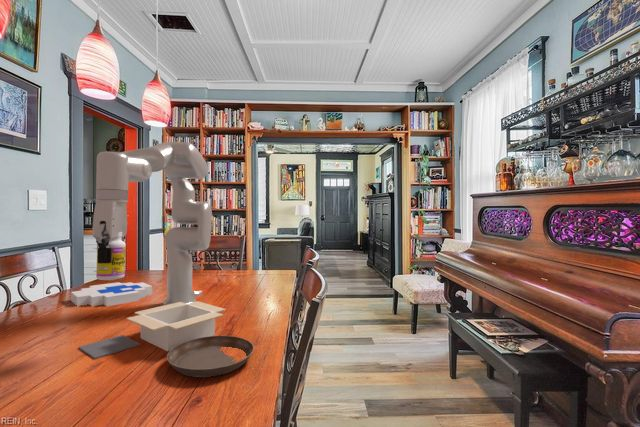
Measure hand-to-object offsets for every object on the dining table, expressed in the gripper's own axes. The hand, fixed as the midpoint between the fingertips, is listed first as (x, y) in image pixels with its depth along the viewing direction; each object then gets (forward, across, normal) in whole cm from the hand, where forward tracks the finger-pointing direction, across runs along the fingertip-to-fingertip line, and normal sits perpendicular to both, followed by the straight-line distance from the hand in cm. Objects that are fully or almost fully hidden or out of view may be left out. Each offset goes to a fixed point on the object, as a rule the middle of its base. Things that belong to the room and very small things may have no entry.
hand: (111, 260), depth 89 cm
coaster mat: (+24, 0, 0) cm, 24 cm away
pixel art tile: (+24, -57, -24) cm, 66 cm away
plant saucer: (+24, +13, +29) cm, 40 cm away
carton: (+24, -5, +17) cm, 30 cm away
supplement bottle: (+5, 0, 0) cm, 5 cm away
